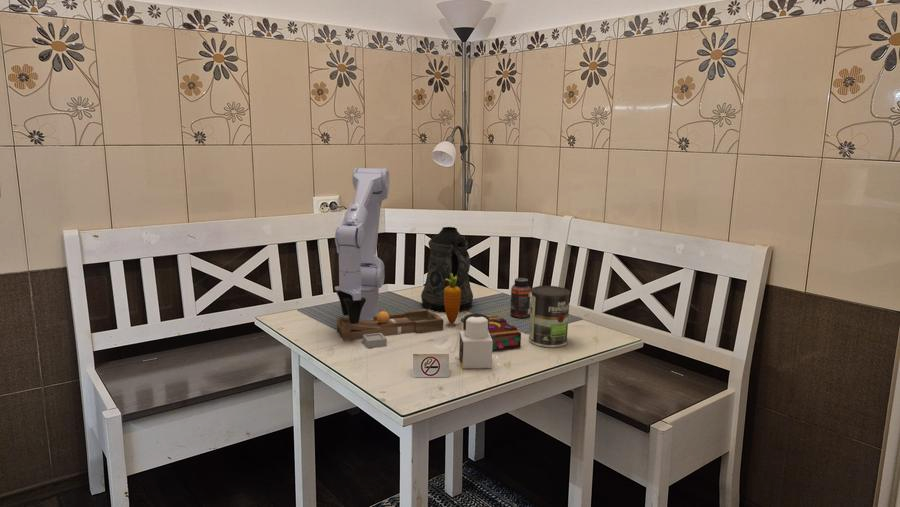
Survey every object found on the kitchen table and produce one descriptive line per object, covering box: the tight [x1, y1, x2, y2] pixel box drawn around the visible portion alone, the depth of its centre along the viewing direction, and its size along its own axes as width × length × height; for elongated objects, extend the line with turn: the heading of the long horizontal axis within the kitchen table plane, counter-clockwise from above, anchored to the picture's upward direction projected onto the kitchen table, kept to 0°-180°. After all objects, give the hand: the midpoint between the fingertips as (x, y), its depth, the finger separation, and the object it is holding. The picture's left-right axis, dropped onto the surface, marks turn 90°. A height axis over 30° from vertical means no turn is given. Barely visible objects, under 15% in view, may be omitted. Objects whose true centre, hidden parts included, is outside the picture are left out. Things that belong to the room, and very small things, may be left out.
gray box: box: [362, 333, 388, 349], centre depth 158 cm, size 5×5×2 cm
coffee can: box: [528, 285, 571, 348], centre depth 162 cm, size 10×10×14 cm
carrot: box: [444, 273, 461, 326], centre depth 173 cm, size 5×5×15 cm
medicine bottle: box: [458, 312, 493, 370], centre depth 146 cm, size 7×7×12 cm
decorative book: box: [460, 315, 522, 352], centre depth 162 cm, size 11×16×5 cm
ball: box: [377, 310, 390, 324], centre depth 168 cm, size 4×4×4 cm
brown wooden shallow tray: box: [336, 309, 444, 341], centre depth 169 cm, size 10×28×4 cm, turn 113°
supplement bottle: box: [510, 277, 532, 319], centre depth 183 cm, size 6×6×11 cm
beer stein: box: [420, 226, 474, 314], centre depth 190 cm, size 16×19×25 cm
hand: (350, 319), depth 164 cm, fingers open, 7 cm apart
